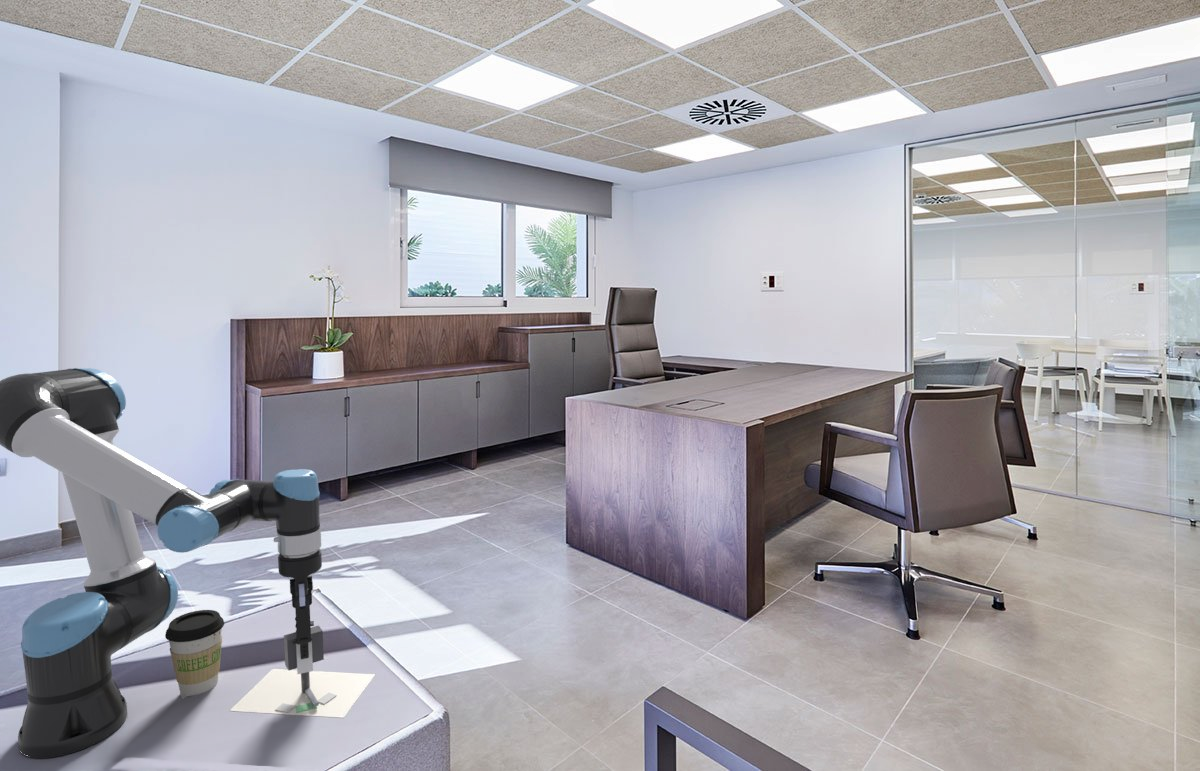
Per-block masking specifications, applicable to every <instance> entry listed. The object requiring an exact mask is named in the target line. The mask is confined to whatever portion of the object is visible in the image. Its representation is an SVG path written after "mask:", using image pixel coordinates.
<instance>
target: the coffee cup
mask: <svg viewBox="0 0 1200 771" xmlns="http://www.w3.org/2000/svg"><path fill="white" fill-rule="evenodd" d="M224 626H225V621H224V618H223V617H222V616H221V614H220V613H219V611H217V610H214V609H201V610H194V611H190V612H187V613H186V612H185V613H183V614H181V615H178V616H176V617H175V618H174V619H172V620H171V621H170V622H169V624H168V627H167V629H166V631H165V635H164V636H165V639H166V640H168V643H169V651H170V656H171V662H172V666H173V669H174V674H175V679H176V682H177V685H178V687H179V688H178V689H179V693H180V698H181V699H182V700H185V698H187V697H189V696H197V695H202V694H205V693H207V692H208V691H211V690H212V689H214V688H215V687H216V686H217V685H218V682H219V672H220V668H221V654H222V642H223V636H222V629H223V628H224Z"/></svg>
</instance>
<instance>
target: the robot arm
mask: <svg viewBox="0 0 1200 771" xmlns="http://www.w3.org/2000/svg"><path fill="white" fill-rule="evenodd" d="M126 402H127V400H126V395H125V392H124V390H123V387H122V386H121V385H120V383H119V382H118V381H117V380H116V378H114V377H113V376H112V375H109V374H108V373H106V372H105V371H103V370H100V369H97V368H91V367H90V368H85V367H84V368H81V367H80V368H78V367H75V368H66V369H59V370H51V371H41V372H33V373H32V372H31V373H21V374H15V375H11V376H7V377H6V378H2V379H1V380H0V446H1V447H3V448H4V449H6V450H7V451H9V452H11V453H13V454H15V455H16V456H19V457H22V458H32V457H35V458H36V459H37V460H39V461H40V462H43V463H45V464H46V465H48V466H50V467H52V468H53V469H55V470H57V471H59V472H61V473H62V476H63V480H64V483H65V486H66V490H67V493H68V497H69V502H70V503H71V504H70V505H71V507H72V511H73V515H74V518H75V522H76V526H77V528H78V532H79V535H80V540H81V543H82V547H83V549H84V553H85V556H86V559H87V564H88V567H89V570H90V572H89V574H88V576H87V577H86V579H85V580H84V582H83V584H82V585H83V588H84V590H85V591H82V592H76V593H71V594H68V595H67V596H65V597H62V598H61V597H58V598H56V599H52V600H51V601H49V602H47V603H45V604H43V605H42V606H40V607H38V608H36V609H35V610H34V611H32V612H31V613H30V614H29V615H28V616H27V618H26V619H25V620H24V622H23V624H22V627H21V628H22V629H21V637H22V638H21V642H20V648H21V652H22V657H23V664H24V665H23V666H24V675H25V681H26V691H27V692H26V693H27V705H26V708H25V711H24V716H23V719H22V724H21V727H20V728H19V731H18V734H17V744H18V750H20V751H21V752H22V753H23V754H25V755H28V756H30V757H29V758H31V757H37V758H36V759H48V758H56V757H61V756H65V755H69V754H73V753H77V752H79V751H81V750H84V749H86V748H88V747H91V746H93V745H95V744H98V743H99V742H101V741H103V740H104V739H106V738H108V737H109V736H111V735H112V734H114V733H115V732H116V731H117V730H118V729H119V728H121V727H122V725H123V724H124V723H125V721H126V720H127V717H128V705H127V704H128V703H127V701H126V699H125V697H124V695H122V693H121V690H120V688H119V687H118V685H117V683H116V681H115V680H114V678H113V668H112V655H113V654H116V652H118V651H120V650H122V649H123V648H125V647H126V646H128V645H129V644H131V643H132V642H134V641H136V640H137V639H139V638H141V637H143V636H144V635H145V634H147V633H149V632H151V631H152V630H154V629H156V628H157V627H158V626H160V624H161V623H163V622H164V621H166V620H167V619H168V618H169V617H170V616H171V615H172V613H173V611H175V608H176V606H177V604H178V599H179V589H178V584H177V582H176V579H175V578H174V576H173V575H172V574H169V573H167V572H168V571H167V570H166V569H164V568H162V567H160V566H157V562H156V560H155V559H153V558H151V557H148V556H146V555H145V554H144V551H143V546H142V543H141V539H140V535H139V532H138V529H137V528H138V527H137V526H136V522H135V518H134V515H133V513H134V514H136V515H137V516H139V517H140V518H142V519H144V520H146V521H148V522H149V523H151V524H154V525H155V526H157V528H156V533H157V536H158V539H159V540H160V541H161V542H162V543H163V546H164V547H165V548H166V549H168V550H170V551H172V552H175V553H183V554H184V553H189V552H191V551H194V550H196V549H198V548H202V547H204V546H207V545H209V544H211V543H212V542H213V541H215V540H217V539H218V538H219V537H222V536H223V535H225V534H227V533H229V532H232V531H233V530H236V529H237V528H239V527H241V526H243V525H245V524H247V523H248V522H253V521H254V522H255V521H256V522H275V524H276V528H275V529H276V536H275V537H273V542H274V543H277V553H278V555H277V564H278V565H277V566H278V567H277V568H278V574H279V575H280V576H282V577H284V578H290V579H289V593H290V595H291V605H292V606H291V607H292V608H294V609H295V617H294V620H295V625H294V626H295V628H296V630H295V632H296V633H297V638H296V639H295V640H292V643H293V644H296V652H297V668H296V670H297V674H302V673H306V672H311V671H314V668H313V667H314V663H313V660H312V636H311V628H312V627H315V624H314V622H315V621H314V620H311V608H310V606H311V605H312V604H313V595H312V594H313V590H314V583H313V576H312V575H313V574H315V573H317V572H319V571H320V570H321V568H322V565H323V564H322V562H323V561H322V550H321V547H322V533H321V532H322V531H321V530H322V528H321V522H320V521H321V520H320V495H321V493H320V492H321V491H320V489H319V480H318V475H317V473H316V472H315V471H314V470H312V469H305V468H298V469H287V470H283V471H280V472H278V473H277V474H275V476H273V477H274V478H273V480H271V481H270V480H255V479H254V480H253V479H244V478H243V479H241V478H235V479H224V480H223V479H222V480H221V481H218V482H217V483H215V485H214V486H213V488H211V490H210V491H209V494H207V495H203V494H200V493H199V492H197V491H196V490H193V489H191V488H189V487H188V486H186V485H184V484H183V483H181V482H179V481H177V480H175V479H174V478H172V477H170V476H168V475H167V474H165V473H163V472H161V471H159V470H158V469H156V468H155V467H153V466H151V465H149V464H148V463H146V462H144V461H142V460H140V459H138V458H137V457H135V456H133V455H131V454H129V453H128V452H127V451H125V450H123V449H120V447H117V446H115V445H114V443H113V441H114V438H115V437H116V435H117V434H118V433H119V432H120V429H119V426H118V425H119V424H118V420H119V419H120V418H121V417H122V416H123V414H124V410H125V409H126V406H127V403H126ZM20 751H19V752H20ZM21 752H20V753H21ZM23 754H22V755H23Z"/></svg>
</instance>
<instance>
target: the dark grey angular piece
mask: <svg viewBox="0 0 1200 771" xmlns="http://www.w3.org/2000/svg"><path fill="white" fill-rule="evenodd" d="M323 634H324V631H323V629H322V628H321V626H319V625H314V626H311V636H312V660H313V664H314V663H317V662H320V661H323V660H324V659H325V657H324V656H325V655H324V635H323ZM296 638H297V633H296V631H295V632H291V633H288V634H284V635H283V645H284V646H283V647H284V650H283V651H284V664H285V667H286V670H288V671H289V670H297V652H296V644H293V643H292V640H295V639H296ZM301 688H302V693H306V695H307V697H308V699H309V700H310V702H311V704H312V705H313V707H316V706H318V705H319V704H318V701H317V699H316V698H315V696H314V694H313V693H312V691H311V689H310V677H309V672H306V673H302V674H301Z"/></svg>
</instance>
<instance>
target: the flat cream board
mask: <svg viewBox="0 0 1200 771" xmlns="http://www.w3.org/2000/svg"><path fill="white" fill-rule="evenodd" d="M375 676H376V674H375V673H373V674H372V673H356V672H355V673H353V672H340V671H339V672H338V671H337V672H335V671H320V670H319V671H318V670H317V671H316V670H313V671H311V672H309V677H310V689H311V691H312V693H313V694H314V696H315V698H316V699H317V701H318V704H319V705H318V706H316V707H313V705H312V704H311V702H310V700H309V699H308V697H307V695H306V693H302V688H301V674H297V669H292V670H289V671H288V669H284V668H283V669H282V668H281V669H280V668H272V669H271V670H270V671H269V672H267V674H266V675H265V676H264V677H262V678H261V679H260V680H259V681H258V682H257V683H256V684H255V685H254V686H253V687H252V688H251V689H250V690H249V691H248V692H247V693H246V694H245V695H244V696H242V698H241V699H240V700H239V701H238V702H237V703H236V704H235V705H233V707H231V709H230V710H229V712H238V713H239V712H240V713H253V714H257V713H258V714H272V715H275V714H276V715H288V716H289V715H291V716H292V715H293V716H308V717H324V718H340V719H344V717H345V716H346V715H347V714H348V712H349V711H350V710H351V708H353V706H354V704H355V703H356V702H357V701H358V699H359V697H360V696H361V695H362V693H363V692H364V691H365V689H366V688H367V686H368V685H369V684H370V683H371V681H372V680H373V679H374V677H375Z"/></svg>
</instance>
